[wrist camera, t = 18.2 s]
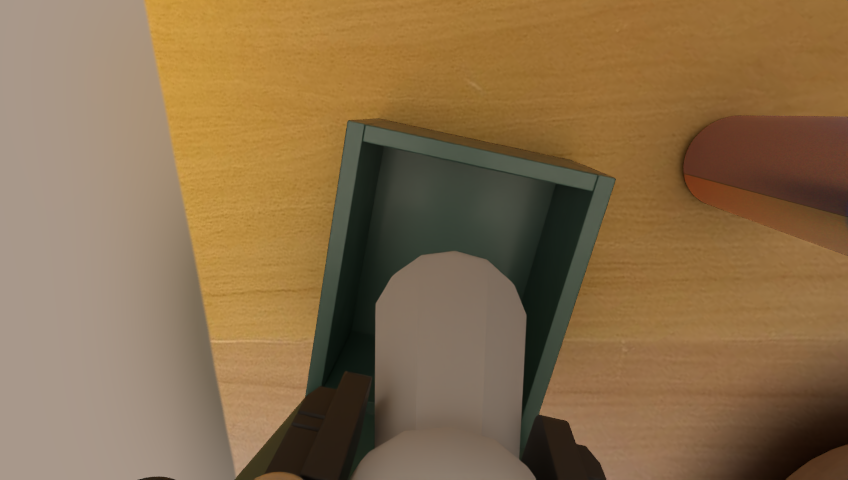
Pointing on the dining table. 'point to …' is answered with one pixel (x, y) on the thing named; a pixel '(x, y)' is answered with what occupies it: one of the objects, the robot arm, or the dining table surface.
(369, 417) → the lid
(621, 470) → the dining table surface
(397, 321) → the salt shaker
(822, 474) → the bowl
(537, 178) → the chest
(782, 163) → the beverage can
